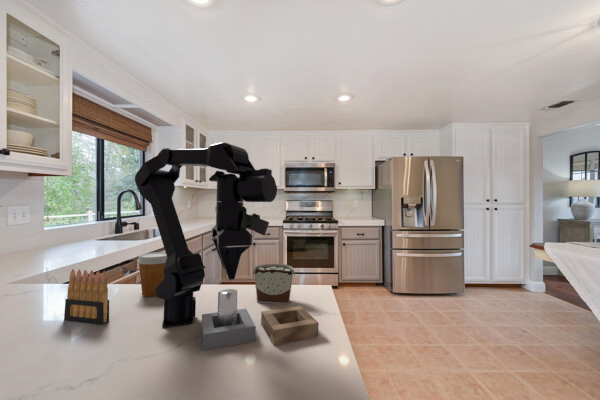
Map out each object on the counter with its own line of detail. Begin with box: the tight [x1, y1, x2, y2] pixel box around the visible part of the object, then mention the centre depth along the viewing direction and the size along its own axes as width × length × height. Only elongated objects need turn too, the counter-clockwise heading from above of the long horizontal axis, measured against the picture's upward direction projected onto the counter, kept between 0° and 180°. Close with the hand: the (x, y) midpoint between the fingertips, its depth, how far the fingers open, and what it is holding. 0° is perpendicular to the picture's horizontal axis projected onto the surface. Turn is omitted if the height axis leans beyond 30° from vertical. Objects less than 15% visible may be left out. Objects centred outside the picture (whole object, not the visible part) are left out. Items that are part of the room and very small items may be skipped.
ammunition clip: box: [63, 268, 110, 326], centre depth 62 cm, size 11×2×12 cm, turn 80°
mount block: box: [260, 305, 320, 346], centre depth 59 cm, size 10×10×3 cm
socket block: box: [201, 308, 256, 351], centre depth 57 cm, size 10×10×3 cm
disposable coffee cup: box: [137, 251, 167, 297], centre depth 82 cm, size 10×10×12 cm
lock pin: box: [217, 288, 238, 328], centre depth 57 cm, size 4×4×9 cm
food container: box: [252, 263, 296, 305], centre depth 79 cm, size 12×6×10 cm, turn 84°
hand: (228, 273), depth 57 cm, fingers open, 9 cm apart
